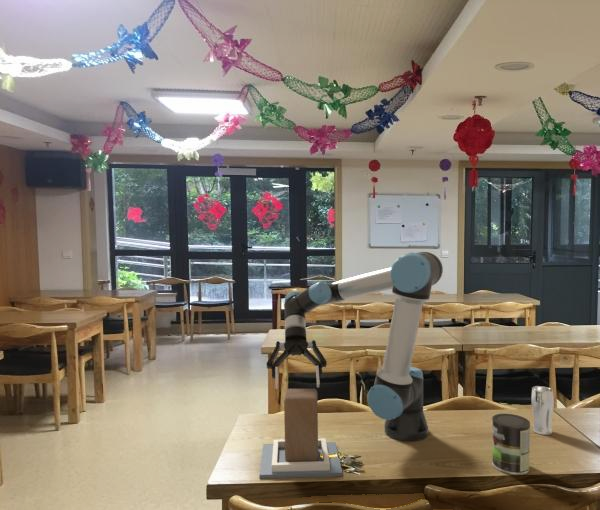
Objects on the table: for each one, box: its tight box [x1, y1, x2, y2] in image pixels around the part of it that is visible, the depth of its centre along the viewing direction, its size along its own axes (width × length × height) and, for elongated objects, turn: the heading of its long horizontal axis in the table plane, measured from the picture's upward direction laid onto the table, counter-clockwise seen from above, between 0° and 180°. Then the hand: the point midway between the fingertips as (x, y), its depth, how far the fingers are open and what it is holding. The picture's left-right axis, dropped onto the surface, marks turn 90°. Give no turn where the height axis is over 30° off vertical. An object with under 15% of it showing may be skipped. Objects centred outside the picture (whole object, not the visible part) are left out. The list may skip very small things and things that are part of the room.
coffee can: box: [491, 413, 531, 476], centre depth 138 cm, size 10×10×14 cm
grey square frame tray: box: [259, 437, 343, 479], centre depth 144 cm, size 24×20×3 cm
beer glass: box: [530, 385, 555, 436], centre depth 162 cm, size 7×7×15 cm
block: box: [283, 388, 319, 462], centre depth 144 cm, size 10×10×20 cm
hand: (297, 386), depth 151 cm, fingers open, 13 cm apart
